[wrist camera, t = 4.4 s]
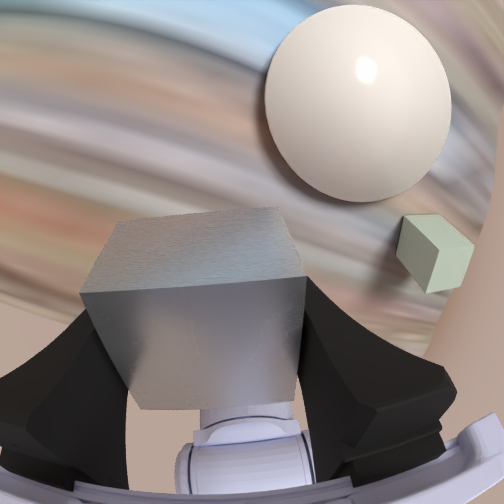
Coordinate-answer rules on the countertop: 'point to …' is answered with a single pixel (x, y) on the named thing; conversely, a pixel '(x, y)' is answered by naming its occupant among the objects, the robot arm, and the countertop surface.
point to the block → (433, 252)
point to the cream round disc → (357, 103)
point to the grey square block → (201, 308)
